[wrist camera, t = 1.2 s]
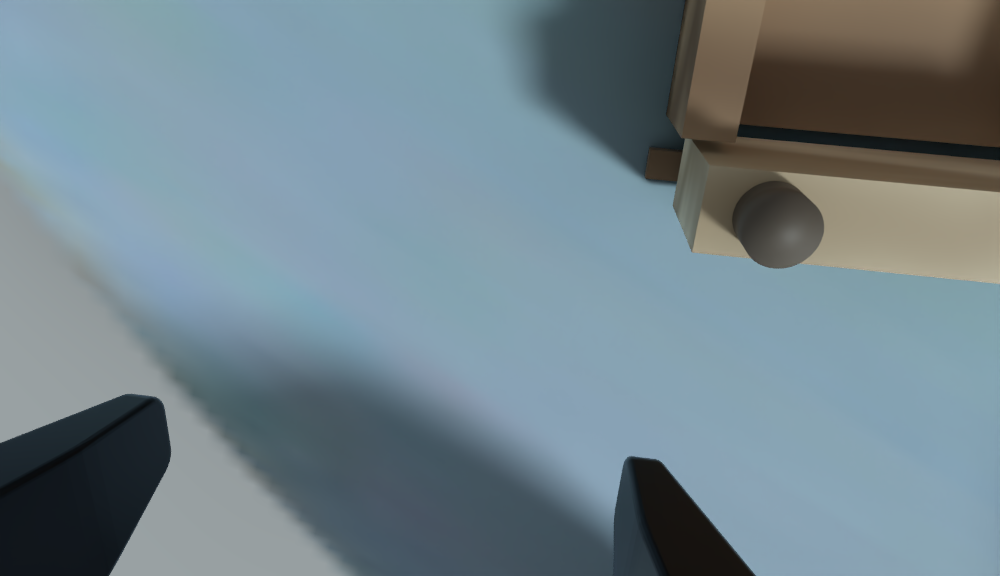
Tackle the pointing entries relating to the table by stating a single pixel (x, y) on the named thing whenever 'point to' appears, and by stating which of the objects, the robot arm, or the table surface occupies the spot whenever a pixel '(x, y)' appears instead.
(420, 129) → the table surface
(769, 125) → the tray
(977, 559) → the table surface
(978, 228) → the gate
